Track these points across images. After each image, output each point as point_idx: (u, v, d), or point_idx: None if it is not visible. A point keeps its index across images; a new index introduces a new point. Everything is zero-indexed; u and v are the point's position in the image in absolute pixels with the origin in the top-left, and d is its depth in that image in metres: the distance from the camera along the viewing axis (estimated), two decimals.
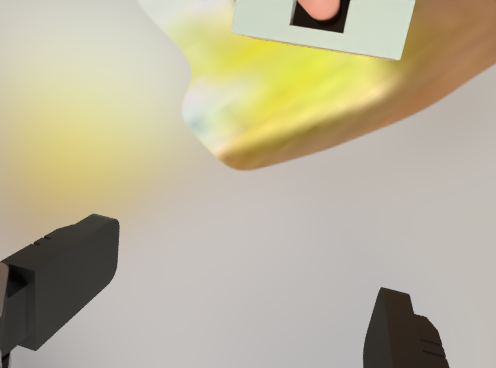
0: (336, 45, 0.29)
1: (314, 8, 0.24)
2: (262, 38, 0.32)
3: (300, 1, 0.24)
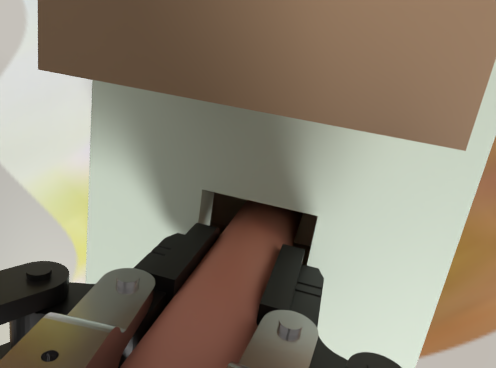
0: None
1: None
2: None
3: None
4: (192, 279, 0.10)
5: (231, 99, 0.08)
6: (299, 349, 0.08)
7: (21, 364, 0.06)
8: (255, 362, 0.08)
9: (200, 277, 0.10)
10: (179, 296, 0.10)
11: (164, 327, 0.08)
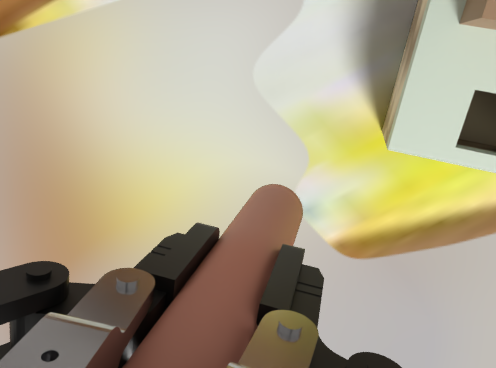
0: None
1: None
2: None
3: None
4: (187, 287, 0.10)
5: None
6: (299, 349, 0.08)
7: (21, 364, 0.06)
8: (255, 362, 0.08)
9: (195, 285, 0.10)
10: (174, 305, 0.09)
11: (157, 338, 0.08)
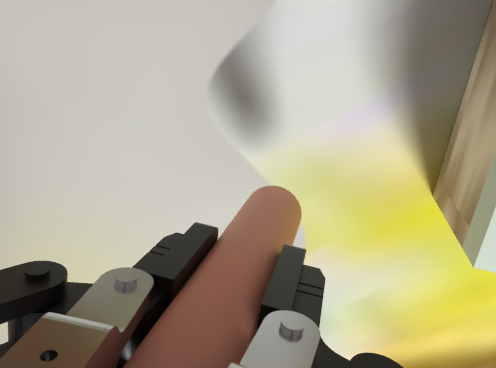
0: None
1: None
2: None
3: None
4: (181, 295, 0.10)
5: None
6: (301, 350, 0.08)
7: (20, 364, 0.06)
8: (257, 363, 0.08)
9: (189, 292, 0.10)
10: (166, 314, 0.09)
11: (148, 350, 0.08)
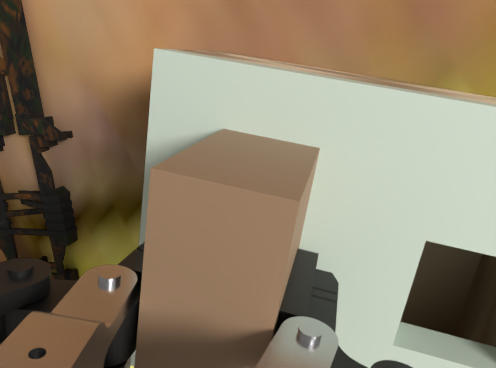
0: None
1: None
2: None
3: None
4: None
5: None
6: (320, 357, 0.08)
7: (8, 363, 0.06)
8: None
9: None
10: None
11: None
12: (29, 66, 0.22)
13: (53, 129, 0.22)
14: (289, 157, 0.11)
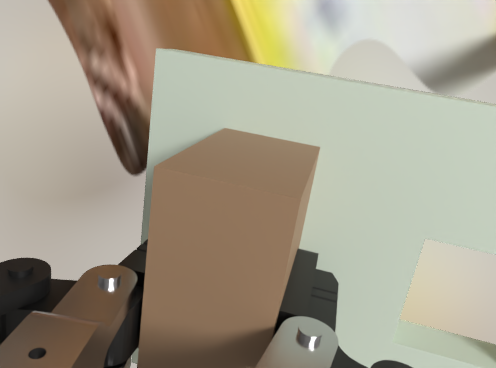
0: None
1: None
2: None
3: None
4: None
5: None
6: (320, 357, 0.08)
7: (8, 363, 0.06)
8: None
9: None
10: None
11: None
12: None
13: None
14: (290, 156, 0.11)
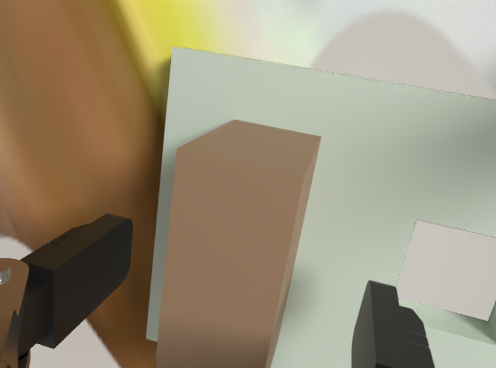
0: None
1: None
2: None
3: None
4: None
5: (268, 326, 0.11)
6: None
7: None
8: None
9: None
10: None
11: None
12: None
13: None
14: (294, 143, 0.12)
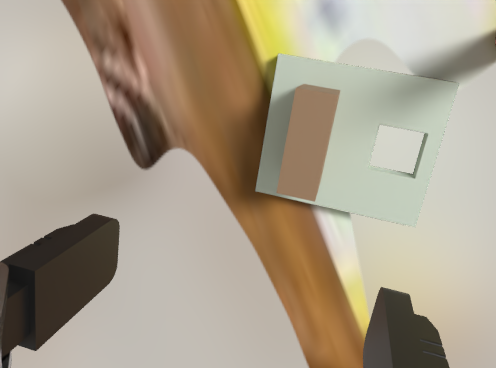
0: (438, 139, 0.33)
1: None
2: None
3: None
4: None
5: (324, 150, 0.31)
6: None
7: None
8: None
9: None
10: None
11: None
12: None
13: None
14: (331, 90, 0.32)
